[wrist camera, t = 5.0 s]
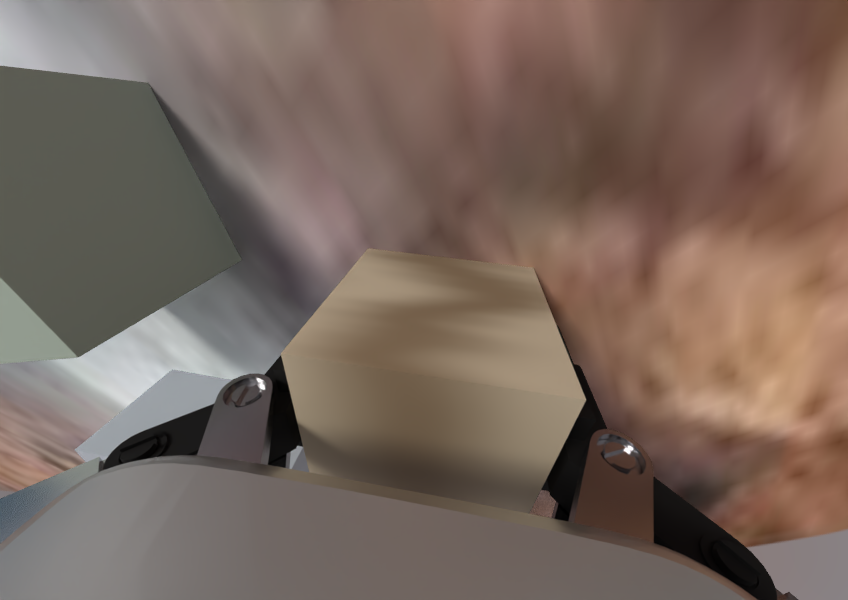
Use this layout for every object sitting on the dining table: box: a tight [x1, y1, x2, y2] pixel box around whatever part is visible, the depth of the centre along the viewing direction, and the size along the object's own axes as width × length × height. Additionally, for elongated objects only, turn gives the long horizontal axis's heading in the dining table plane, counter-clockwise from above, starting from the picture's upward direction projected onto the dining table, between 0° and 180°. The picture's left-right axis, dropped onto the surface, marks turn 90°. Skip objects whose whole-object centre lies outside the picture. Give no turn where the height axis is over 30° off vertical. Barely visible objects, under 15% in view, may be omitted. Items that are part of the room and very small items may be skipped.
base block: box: [75, 370, 309, 472], centre depth 17 cm, size 9×9×5 cm
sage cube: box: [0, 66, 242, 364], centre depth 9 cm, size 6×6×6 cm
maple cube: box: [281, 249, 586, 514], centre depth 10 cm, size 6×6×6 cm
